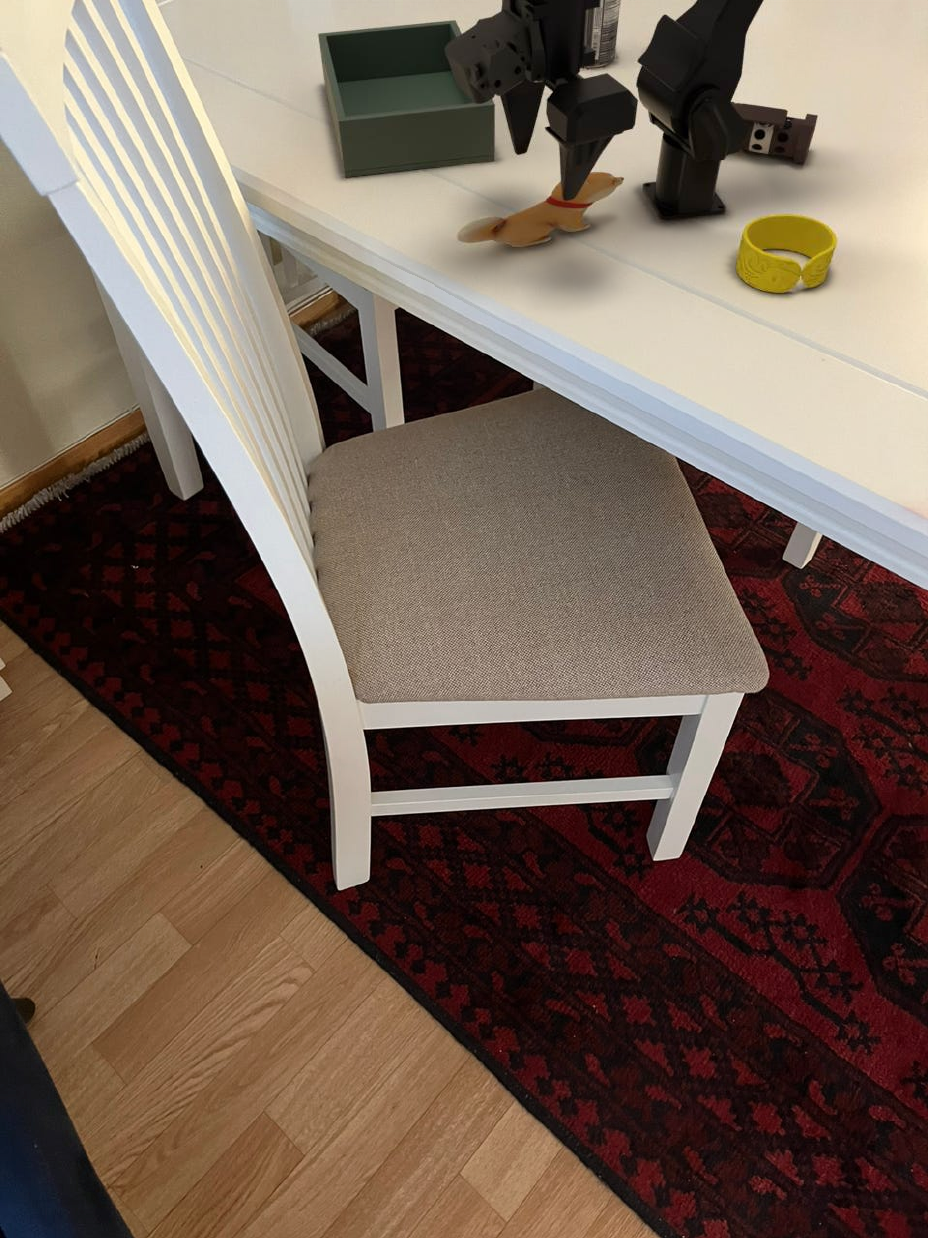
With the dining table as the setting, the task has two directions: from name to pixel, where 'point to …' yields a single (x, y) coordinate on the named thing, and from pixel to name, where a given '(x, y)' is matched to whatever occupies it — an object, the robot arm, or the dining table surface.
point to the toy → (542, 215)
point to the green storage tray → (401, 100)
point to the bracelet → (786, 235)
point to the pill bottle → (603, 31)
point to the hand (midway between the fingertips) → (544, 175)
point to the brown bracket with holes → (776, 131)
